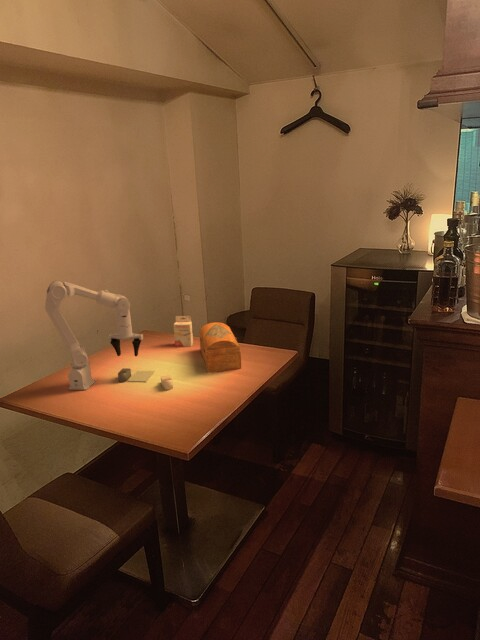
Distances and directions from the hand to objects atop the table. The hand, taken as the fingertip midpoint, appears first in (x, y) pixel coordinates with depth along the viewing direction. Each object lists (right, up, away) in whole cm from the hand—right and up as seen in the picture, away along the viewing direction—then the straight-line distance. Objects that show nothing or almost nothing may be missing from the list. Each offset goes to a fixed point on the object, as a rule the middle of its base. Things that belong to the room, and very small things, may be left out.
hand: (127, 355), depth 199 cm
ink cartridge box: (+19, +2, +39) cm, 43 cm away
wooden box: (+39, -3, +18) cm, 43 cm away
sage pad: (+6, -9, +1) cm, 11 cm away
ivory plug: (+18, -12, -10) cm, 24 cm away
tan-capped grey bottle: (-1, -10, 0) cm, 10 cm away
